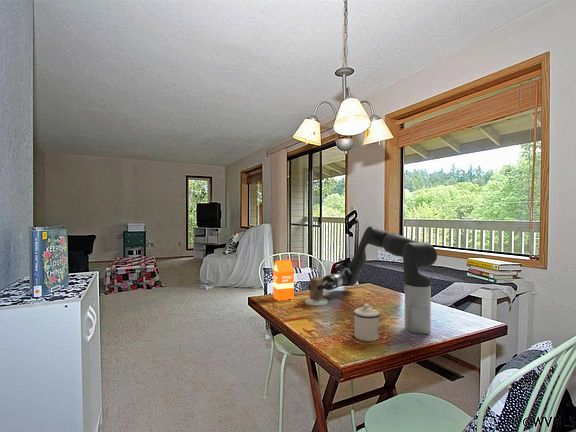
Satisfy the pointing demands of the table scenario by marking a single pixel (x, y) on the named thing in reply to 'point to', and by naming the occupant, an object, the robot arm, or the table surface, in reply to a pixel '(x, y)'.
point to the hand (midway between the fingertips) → (313, 287)
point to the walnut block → (314, 292)
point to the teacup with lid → (366, 323)
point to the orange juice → (283, 280)
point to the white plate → (316, 302)
